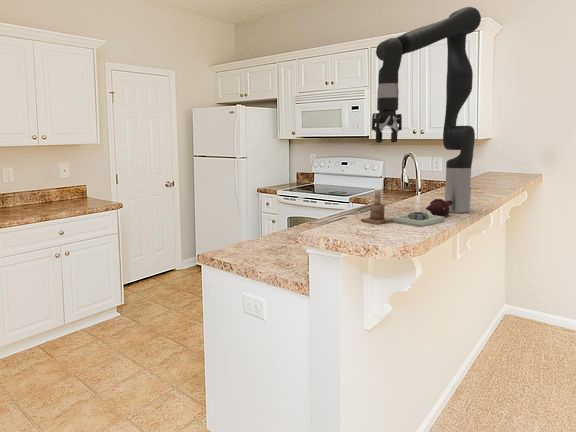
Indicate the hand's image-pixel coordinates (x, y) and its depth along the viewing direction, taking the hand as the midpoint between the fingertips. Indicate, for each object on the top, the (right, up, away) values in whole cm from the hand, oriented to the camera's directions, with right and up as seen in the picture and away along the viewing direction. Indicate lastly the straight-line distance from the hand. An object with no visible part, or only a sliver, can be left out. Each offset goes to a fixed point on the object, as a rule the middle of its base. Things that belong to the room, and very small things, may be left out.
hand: (386, 142), depth 170 cm
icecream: (+20, -28, +2) cm, 34 cm away
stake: (-5, -29, -7) cm, 30 cm away
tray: (+9, -29, -9) cm, 32 cm away
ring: (+9, -29, -9) cm, 31 cm away
